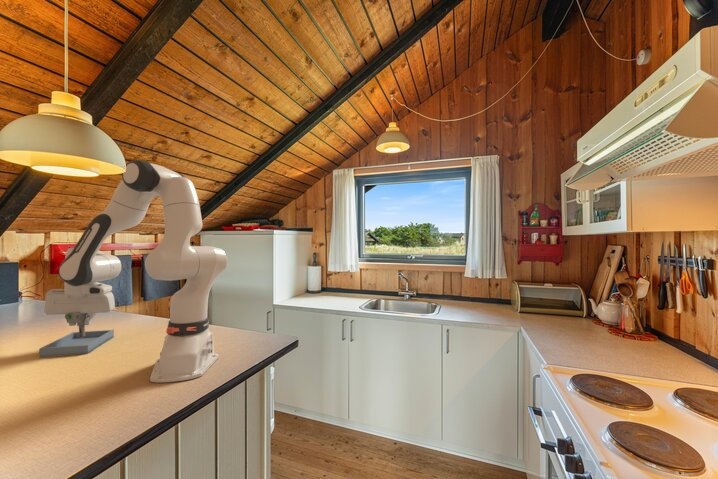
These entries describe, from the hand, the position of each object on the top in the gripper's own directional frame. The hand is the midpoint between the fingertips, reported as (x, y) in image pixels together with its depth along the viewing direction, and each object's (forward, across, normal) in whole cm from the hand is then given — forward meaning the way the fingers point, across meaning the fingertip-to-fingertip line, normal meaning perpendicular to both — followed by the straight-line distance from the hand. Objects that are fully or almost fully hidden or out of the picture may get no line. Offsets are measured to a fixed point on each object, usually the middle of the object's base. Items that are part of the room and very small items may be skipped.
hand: (80, 325), depth 110 cm
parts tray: (+8, 0, 0) cm, 8 cm away
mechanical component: (+5, 0, 0) cm, 5 cm away
